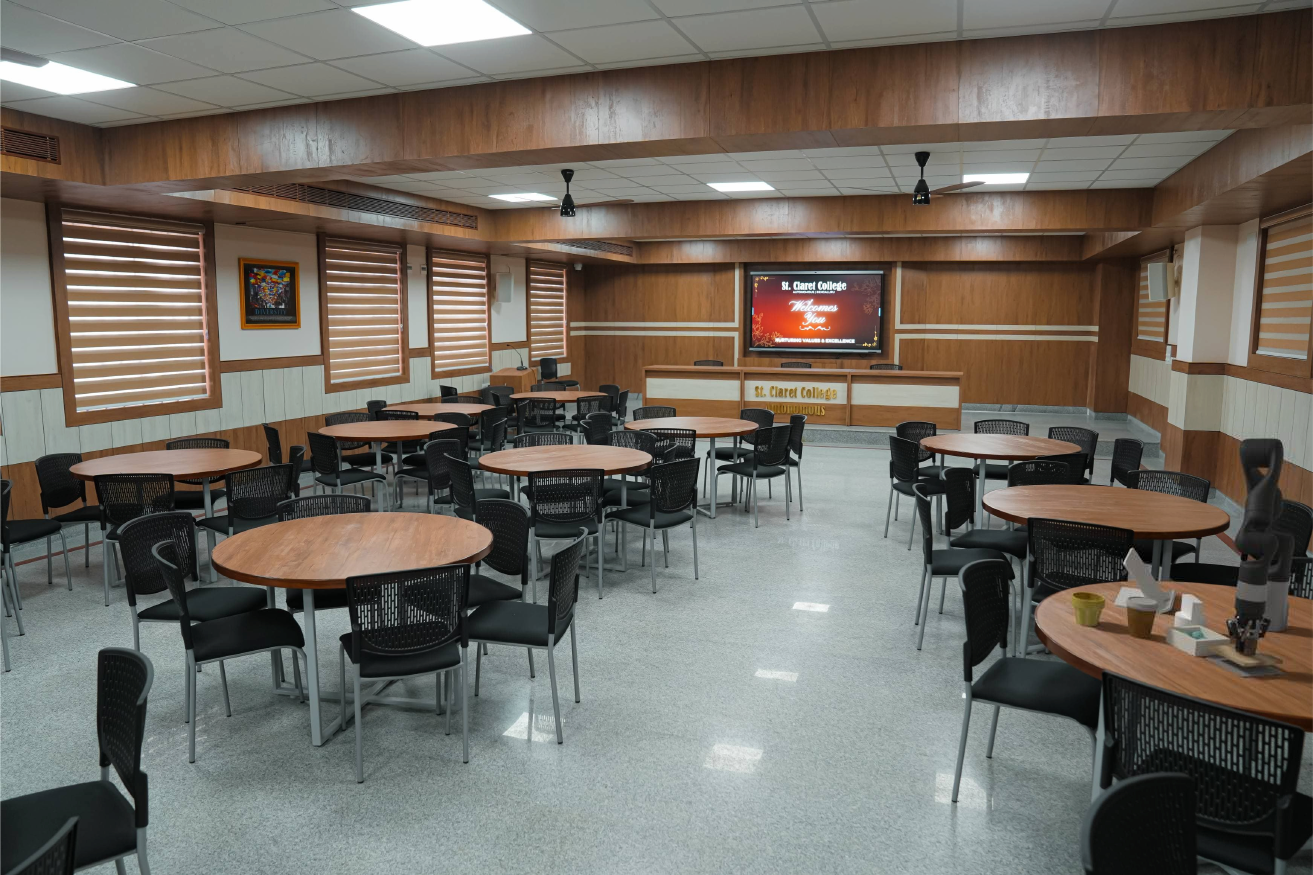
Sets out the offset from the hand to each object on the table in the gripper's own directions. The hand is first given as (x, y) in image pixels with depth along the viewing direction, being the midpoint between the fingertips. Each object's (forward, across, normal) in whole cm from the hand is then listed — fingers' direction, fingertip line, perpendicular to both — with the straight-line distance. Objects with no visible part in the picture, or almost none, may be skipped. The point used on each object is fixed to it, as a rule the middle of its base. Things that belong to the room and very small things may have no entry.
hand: (1245, 651), depth 256 cm
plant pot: (+5, +23, -41) cm, 47 cm away
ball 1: (+2, +5, -17) cm, 18 cm away
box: (+5, +3, -15) cm, 16 cm away
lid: (+2, 0, 0) cm, 2 cm away
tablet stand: (+5, -14, -58) cm, 60 cm away
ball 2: (+2, 0, -18) cm, 18 cm away
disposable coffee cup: (+5, +13, -28) cm, 31 cm away
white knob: (+5, -5, -27) cm, 28 cm away
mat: (+5, 0, 0) cm, 5 cm away
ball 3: (+2, +3, -12) cm, 13 cm away
